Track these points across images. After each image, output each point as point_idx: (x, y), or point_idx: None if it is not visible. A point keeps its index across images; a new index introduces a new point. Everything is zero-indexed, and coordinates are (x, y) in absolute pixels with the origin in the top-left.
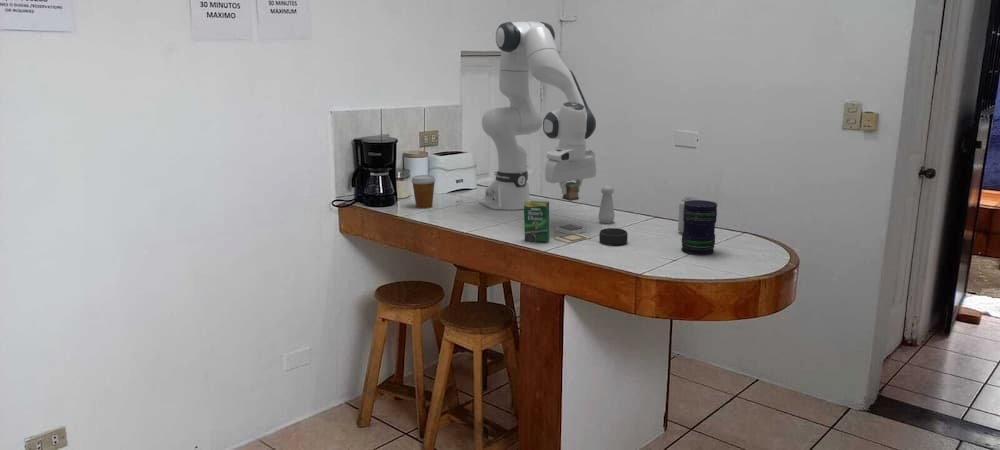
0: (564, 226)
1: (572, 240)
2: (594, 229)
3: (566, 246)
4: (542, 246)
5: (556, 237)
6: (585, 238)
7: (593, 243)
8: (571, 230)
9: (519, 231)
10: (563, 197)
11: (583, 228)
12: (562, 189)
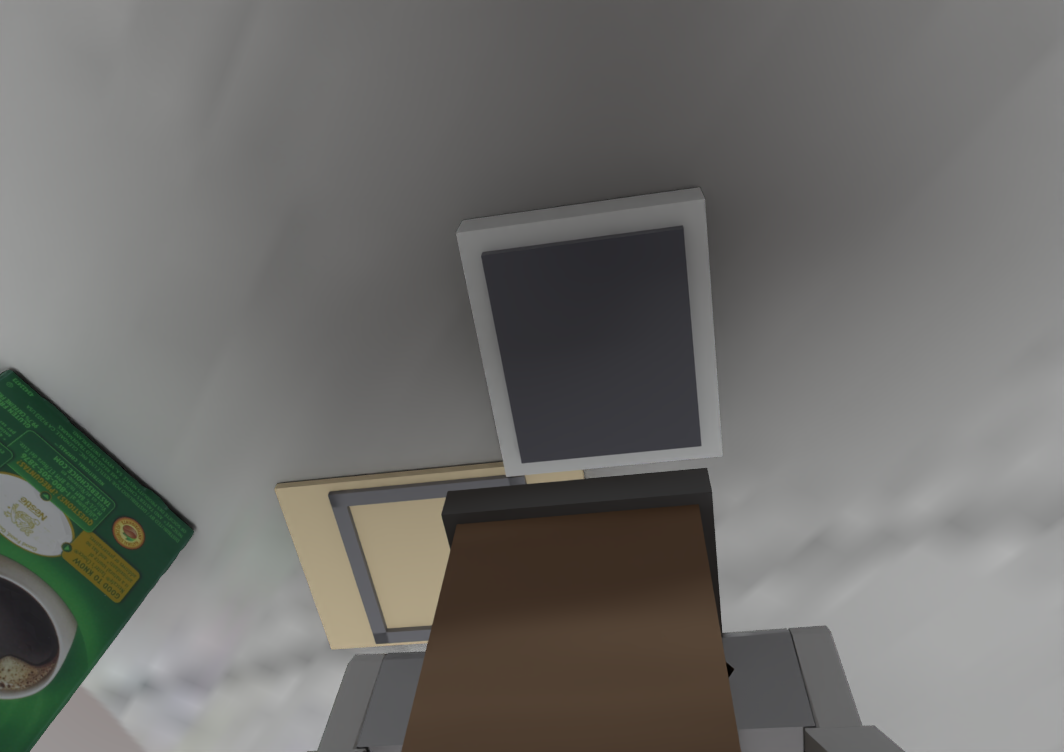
0: (542, 293)
1: (380, 643)
2: (896, 389)
3: (274, 695)
4: None
5: (302, 488)
6: None
7: None
8: (521, 459)
9: (5, 13)
10: (449, 546)
11: (708, 439)
12: (331, 749)
